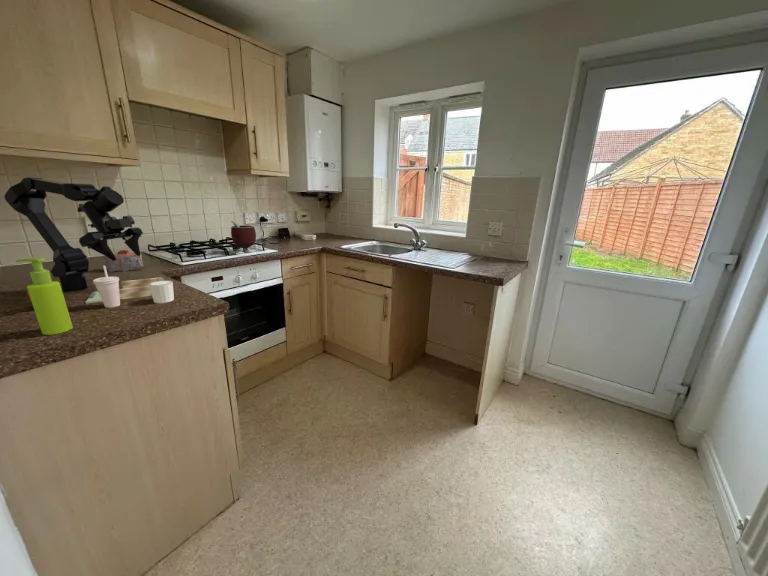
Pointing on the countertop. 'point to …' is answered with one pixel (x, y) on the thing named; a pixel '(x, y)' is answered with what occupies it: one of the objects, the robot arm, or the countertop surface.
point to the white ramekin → (162, 291)
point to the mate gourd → (243, 236)
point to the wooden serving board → (137, 288)
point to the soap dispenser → (47, 300)
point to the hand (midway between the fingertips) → (127, 257)
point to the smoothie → (108, 290)
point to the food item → (124, 261)
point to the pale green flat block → (94, 298)
